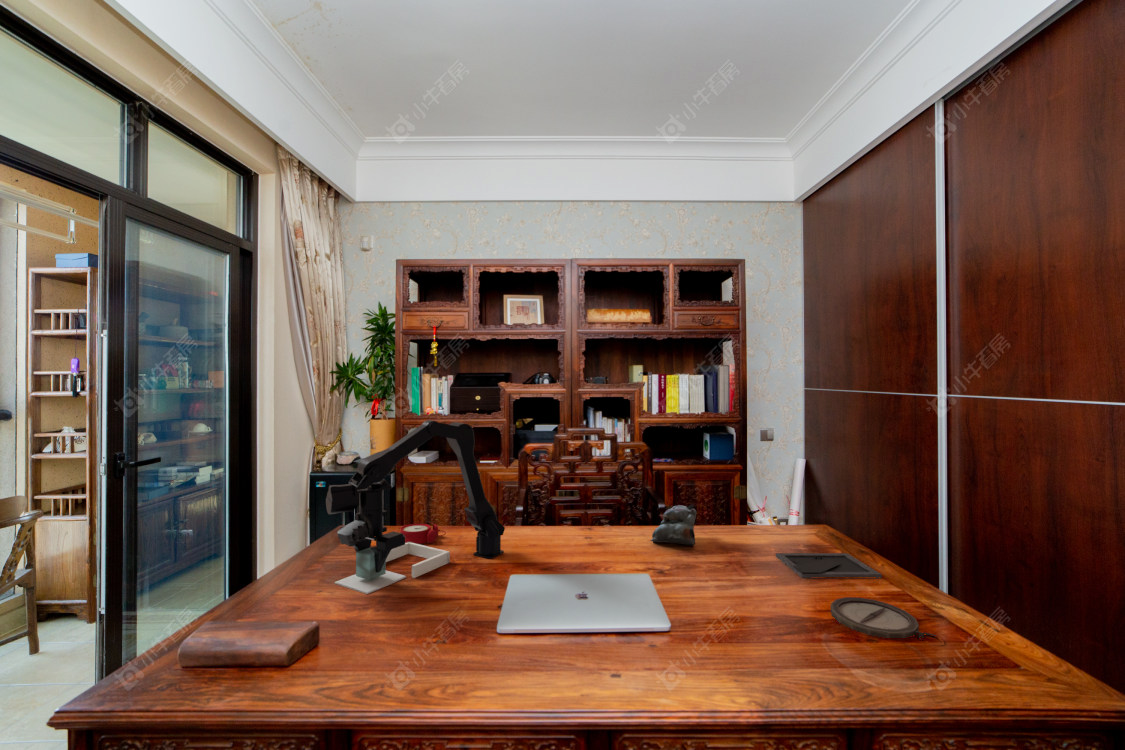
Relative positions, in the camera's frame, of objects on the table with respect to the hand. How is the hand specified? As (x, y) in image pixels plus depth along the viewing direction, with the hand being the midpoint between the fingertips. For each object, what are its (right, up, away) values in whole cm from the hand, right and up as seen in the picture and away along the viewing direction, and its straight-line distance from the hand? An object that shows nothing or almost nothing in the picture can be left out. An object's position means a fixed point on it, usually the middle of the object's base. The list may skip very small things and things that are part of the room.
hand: (371, 569), depth 133 cm
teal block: (0, -1, 0) cm, 1 cm away
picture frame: (+121, -4, +12) cm, 122 cm away
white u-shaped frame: (+7, -3, +11) cm, 13 cm away
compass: (+116, -4, -21) cm, 117 cm away
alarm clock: (+4, -3, +33) cm, 33 cm away
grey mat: (0, -3, 0) cm, 3 cm away
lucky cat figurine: (+83, -4, +31) cm, 89 cm away
